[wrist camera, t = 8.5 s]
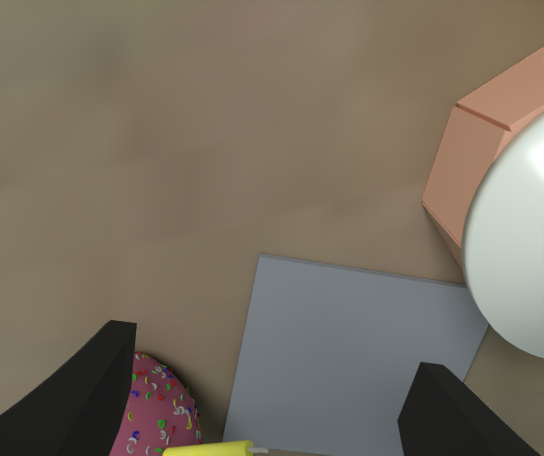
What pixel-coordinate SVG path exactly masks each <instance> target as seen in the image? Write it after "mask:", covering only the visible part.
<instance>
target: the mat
mask: <svg viewBox="0 0 544 456" xmlns="http://www.w3.org/2000/svg"><path fill="white" fill-rule="evenodd" d="M488 325H489V322H488V321H487V319H486V318H485V317H484V315H483V314H482V313H481V311H480V310H479V309H478V307H477V306H476V305H475V303H474V301H473V299H472V297H471V295H470V293H469V291H468V288H467V285H464V284H458V283H451V282H445V281H438V280H432V279H425V278H419V277H412V276H406V275H399V274H393V273H386V272H380V271H373V270H367V269H360V268H354V267H347V266H341V265H334V264H328V263H321V262H315V261H308V260H302V259H295V258H289V257H282V256H276V255H269V254H263V253H259V257H258V262H257V267H256V272H255V277H254V282H253V287H252V292H251V297H250V302H249V307H248V312H247V317H246V322H245V327H244V332H243V337H242V342H241V347H240V352H239V357H238V362H237V367H236V372H235V377H234V382H233V387H232V392H231V397H230V402H229V408H228V413H227V418H226V423H225V428H224V433H223V438H222V442H232V441H243V440H250V441H251V442H252V443H253V446H254V447H266V448H268V449H277V450H286V451H295V452H304V453H313V454H322V455H331V456H404V453H403V449H402V444H401V439H400V433H399V428H398V422H397V420H398V417H399V415H400V412H401V410H402V407H403V405H404V402H405V400H406V397H407V395H408V392H409V390H410V387H411V385H412V382H413V380H414V377H415V374H416V372H417V369H418V367H419V364H420V362H427V363H434V364H442V365H444V366H445V367H446V368H448V369H449V370H450V371H451V372H452V373H453V374H454V375H455V376H456V377H458V378H459V379H460V380H461V381H462V382H463V381H464V378H465V376H466V374H467V372H468V370H469V367H470V365H471V363H472V361H473V359H474V356H475V354H476V352H477V350H478V348H479V345H480V343H481V341H482V339H483V337H484V334H485V332H486V330H487V328H488Z"/></svg>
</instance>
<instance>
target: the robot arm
mask: <svg viewBox="0 0 544 456" xmlns="http://www.w3.org/2000/svg"><path fill="white" fill-rule="evenodd" d="M136 327H137V323H130V322H123V321H115V320H110V321H109V322H107V323H106V324H105V325H104V326H103V327H102V328H101V329H100V330H99V331H98V332H97V333H96V334H95V335H94V336H93V337H92V338H91V339H90V340H89V341H88V342H87V343H86V344H85V345H84V346H83V347H82V348H81V349H80V350H79V351H78V352H77V353H76V354H75V355H73V356H72V357H71V358H70V359H69V360H68V361H67V362H66V363H65V364H63V365H62V366H61V367H60V368H59V369H58V370H57V371H56V372H54V373H53V374H52V375H51V376H50V377H49V378H47V379H46V380H45V381H44V382H43V383H41V384H40V385H39V386H38V387H36V388H35V389H34V390H33V391H31V392H30V393H29V394H28V395H26V396H25V397H24V398H23V399H21V400H20V401H19V402H17V403H16V404H15V405H13V406H12V407H11V408H9V409H8V410H7V411H5V412H4V413H3V414H1V415H0V456H109V455H110V452H111V450H112V447H113V445H114V442H115V440H116V437H117V435H118V432H119V429H120V426H121V423H122V419H123V416H124V412H125V409H126V405H127V402H128V398H129V394H130V391H131V384H132V373H133V361H134V350H135V338H136ZM397 422H398V428H399V433H400V439H401V444H402V449H403V453H404V456H540V455H539V454H538V453H537V452H536V451H535V450H534V449H532V448H531V447H530V446H529V445H528V444H527V443H526V442H525V441H523V440H522V439H521V438H520V437H519V436H518V435H517V434H516V433H515V432H514V431H513V430H512V429H510V428H509V427H508V426H507V425H506V424H505V423H504V422H503V421H502V420H501V419H500V418H499V417H498V416H497V415H496V414H495V413H494V412H493V411H492V410H491V409H490V408H488V407H487V406H486V405H485V404H484V403H483V402H482V401H481V400H480V399H479V398H478V397H477V396H476V395H475V394H474V393H473V392H472V391H471V390H470V389H469V388H468V387H467V386H466V385H465V384H464V383H463V382H462V381H461V380H460V379H459V378H458V377H456V376H455V375H454V374H453V373H452V372H451V371H450V370H449V369H448V368H446V367H445V366H444V365H442V364H434V363H427V362H420V364H419V367H418V369H417V372H416V374H415V377H414V380H413V382H412V385H411V387H410V390H409V392H408V395H407V397H406V400H405V402H404V405H403V407H402V410H401V412H400V415H399V417H398V420H397Z"/></svg>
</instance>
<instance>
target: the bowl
mask: <svg viewBox="0 0 544 456" xmlns="http://www.w3.org/2000/svg"><path fill="white" fill-rule="evenodd" d="M456 103H457V105H458V107H456V106H453V108H452V111H451V114H450V117H449V120H448V123H447V126H446V129H445V132H444V135H443V138H442V141H441V143H440V146H439V149H438V152H437V155H436V158H435V161H434V164H433V167H432V170H431V173H430V176H429V179H428V182H427V185H426V188H425V191H424V194H423V197H422V201H423V203H422V204H423V206H424V208H425V209H426V211H427V213H428V214H429V216H430V218H431V220H432V221H433V223H434V225H435V226H436V228H437V230H438V231H439V233H440V235H441V236H442V238H443V240H444V242H445V243H446V245H447V247H448V248H449V250H450V252H451V253H452V255H453V257H454V259H455V260H456V262H457V264H458V265H459V267H460V269H461V270H462V271H463V269H462V263H461V240H462V234H463V227H464V222H465V219H466V216H467V212H468V209H469V206H470V203H471V201H472V199H473V196H474V194H475V192H476V189H477V187H478V185H479V184H480V182H481V180H482V178H483V177H484V175H485V173H486V172H487V170H488V168H489V167H490V165H491V164H492V163H493V161H494V160H495V159H496V157H497V156H498V155H499V153H500V152H501V151H502V149H503V148H504V147H505V146H506V145H507V144H508V143H509V142H510V141H511V140H512V138H513V137H514V136H515V135H516V134H517V133H518V132H519V131H520V130H521V129H523V128H524V127H525V126H526V125H527V124H528V123H529V122H530V121H532V120H533V119H534V118H535V117H536V116H537V115H539V114H540V113H542V112H543V111H544V47H542V48H540V49H539V50H537V51H536V52H534V53H533V54H531V55H529V56H528V57H526V58H525V59H523V60H522V61H520V62H518V63H517V64H515V65H514V66H512V67H511V68H509V69H507V70H506V71H504V72H503V73H501V74H500V75H498V76H496V77H495V78H493V79H492V80H490V81H489V82H487V83H486V84H484V85H482V86H481V87H479V88H478V89H476V90H475V91H473V92H471V93H470V94H468V95H467V96H465V97H464V98H462V99H460V100H459V101H457V102H456Z"/></svg>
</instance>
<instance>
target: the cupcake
mask: <svg viewBox="0 0 544 456" xmlns="http://www.w3.org/2000/svg"><path fill="white" fill-rule="evenodd" d="M194 405H195V401H194V399H191V397H190V393H189V389H188V388H187V387H186V388H184V386H183V385H182V384H181V382H180V381H179V380H178V379H177V378H176V377H175V376H174V374H173V373H172V369H171V368H169V369H168V368H167V367H166V366H164V365H162V364H160V363H159V362H157V361H156V360H155V359H153V358H152V357H150V356H148V355H145V354H141V352H135V353H134V361H133V373H132V384H131V391H130V394H129V398H128V402H127V405H126V409H125V412H124V416H123V419H122V423H121V426H120V429H119V432H118V435H117V437H116V440H115V442H114V445H113V447H112V450H111V452H110V455H109V456H253V453H269V449H268V448H266V447H254V446H253V443H252V442H251V441H250V440H243V441H232V442H222V443H211V444H202V439H201V435H203V430H202V429H201V428H200V421H199V420H198V418H199V416H200V415H199V413H198V412H197V411H198V409H197V407H196V406H194ZM195 408H196V409H195ZM197 414H198V416H197ZM201 432H202V433H201Z"/></svg>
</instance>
